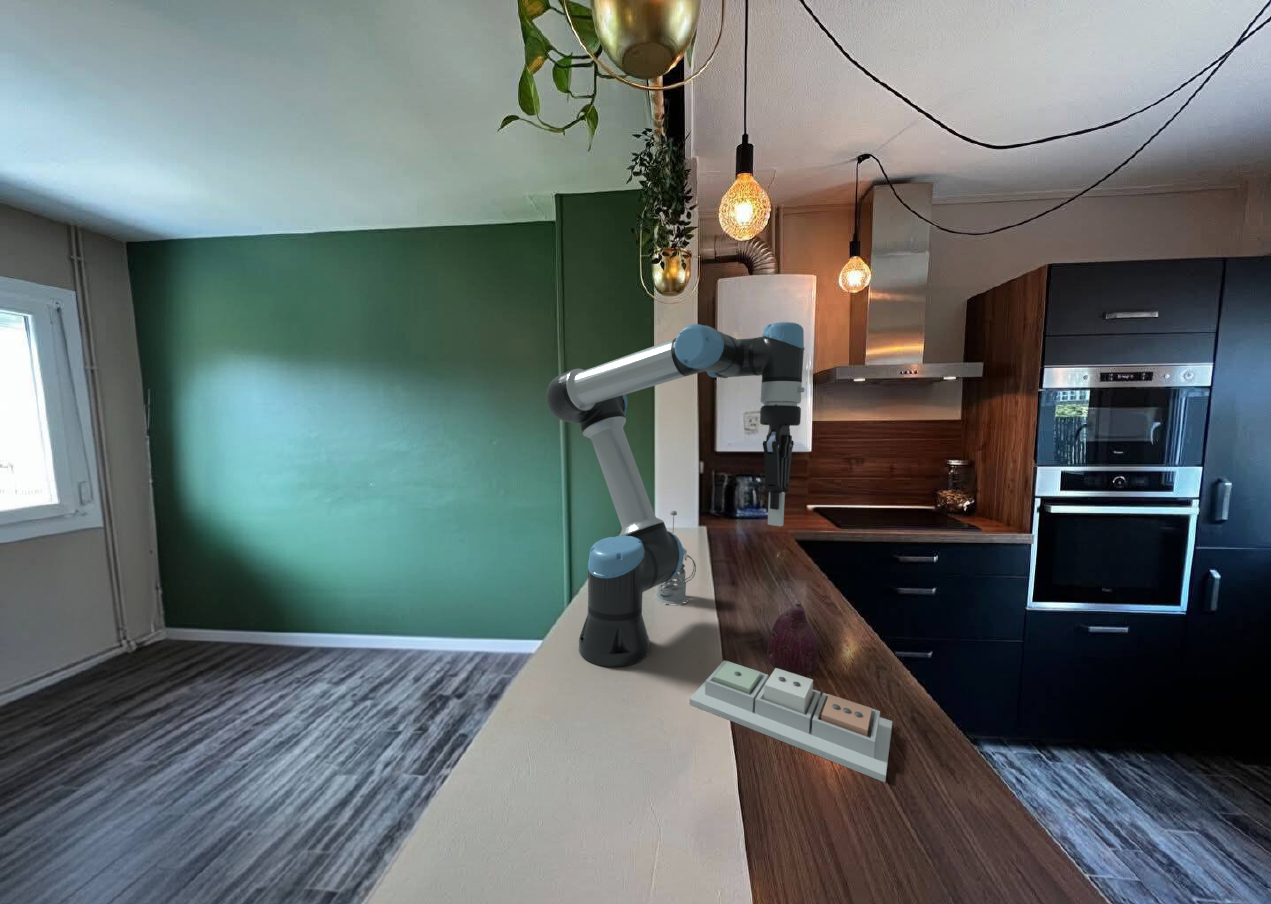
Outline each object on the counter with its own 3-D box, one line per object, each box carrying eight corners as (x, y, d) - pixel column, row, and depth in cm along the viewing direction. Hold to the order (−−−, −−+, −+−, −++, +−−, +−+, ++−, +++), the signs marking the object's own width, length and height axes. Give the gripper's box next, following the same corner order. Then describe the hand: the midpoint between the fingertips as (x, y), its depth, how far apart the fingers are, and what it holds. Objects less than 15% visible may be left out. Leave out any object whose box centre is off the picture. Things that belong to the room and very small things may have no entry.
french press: (651, 592, 130) (653, 507, 129) (690, 591, 132) (693, 507, 130) (656, 605, 121) (659, 514, 119) (698, 605, 122) (701, 514, 120)
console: (689, 704, 78) (690, 684, 78) (720, 668, 90) (721, 651, 90) (885, 782, 62) (886, 758, 62) (891, 727, 74) (893, 706, 73)
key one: (713, 692, 80) (713, 675, 80) (726, 676, 85) (727, 660, 85) (748, 705, 76) (749, 687, 76) (760, 687, 82) (760, 671, 82)
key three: (820, 732, 70) (821, 713, 70) (828, 711, 75) (829, 693, 75) (866, 749, 67) (867, 729, 66) (870, 726, 72) (871, 707, 72)
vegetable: (818, 690, 89) (837, 629, 84) (765, 677, 91) (781, 616, 86) (811, 653, 99) (828, 596, 94) (763, 641, 101) (777, 585, 96)
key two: (763, 702, 75) (764, 683, 75) (774, 684, 80) (775, 666, 80) (803, 716, 71) (804, 697, 71) (812, 696, 77) (813, 678, 77)
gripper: (791, 403, 80) (785, 533, 81) (808, 406, 91) (803, 522, 92) (750, 403, 84) (745, 527, 85) (771, 406, 95) (766, 517, 96)
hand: (775, 524), depth 89 cm, fingers closed
